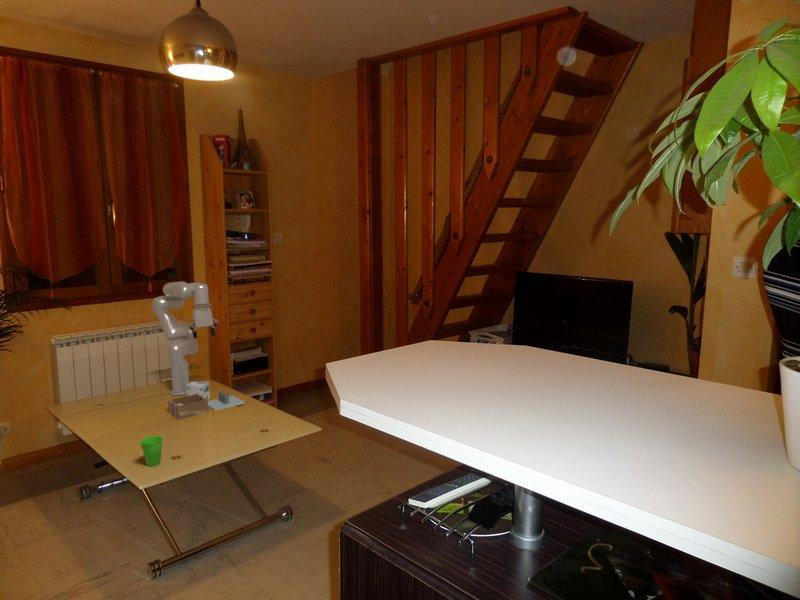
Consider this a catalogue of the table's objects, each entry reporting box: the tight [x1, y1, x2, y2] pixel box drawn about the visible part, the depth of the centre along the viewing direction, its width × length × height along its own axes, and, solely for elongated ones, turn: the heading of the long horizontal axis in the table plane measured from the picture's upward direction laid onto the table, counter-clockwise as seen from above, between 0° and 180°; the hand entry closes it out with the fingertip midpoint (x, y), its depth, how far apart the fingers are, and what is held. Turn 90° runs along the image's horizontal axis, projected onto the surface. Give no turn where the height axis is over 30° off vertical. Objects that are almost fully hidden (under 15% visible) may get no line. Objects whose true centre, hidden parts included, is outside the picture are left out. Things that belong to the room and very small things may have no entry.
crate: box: [167, 394, 210, 421], centre depth 293 cm, size 14×16×8 cm
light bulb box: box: [186, 381, 211, 401], centre depth 314 cm, size 11×7×11 cm, turn 84°
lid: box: [208, 391, 245, 411], centre depth 307 cm, size 15×17×7 cm
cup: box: [139, 435, 164, 468], centre depth 233 cm, size 9×9×11 cm
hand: (204, 336), depth 306 cm, fingers open, 9 cm apart
